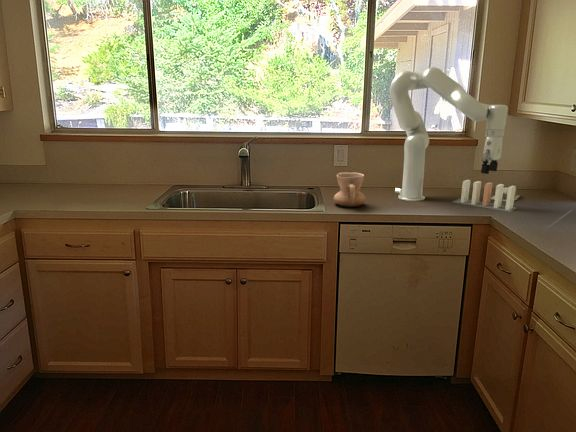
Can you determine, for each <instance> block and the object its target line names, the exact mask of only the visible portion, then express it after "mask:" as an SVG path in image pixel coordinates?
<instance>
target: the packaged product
mask: <svg viewBox="0 0 576 432" xmlns="http://www.w3.org/2000/svg"><path fill="white" fill-rule="evenodd" d="M508 187H509V186H508ZM508 187H507V186H505V187H504V189H503V196H502V201H503V202H506V200H507V193H508ZM517 191H518V190H517V188H516V189H515V196H514V201H517V200H518V199H519V198H520V197H521V195H520V194H517ZM491 200H493V201H494V200H495V195H493V196H491Z"/></svg>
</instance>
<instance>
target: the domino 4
mask: <svg viewBox="0 0 576 432" xmlns="http://www.w3.org/2000/svg"><path fill="white" fill-rule="evenodd" d="M504 186H505V184H504V183H503V184H502V183H499V184H497V185H496V186H495V193H494V194H495V200H493V201H494V202H493V204H494V208H499V207H501V205H503V203H502V196H503V189H504Z"/></svg>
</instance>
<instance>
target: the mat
mask: <svg viewBox="0 0 576 432" xmlns="http://www.w3.org/2000/svg"><path fill="white" fill-rule="evenodd" d="M471 202H472V199H468V201H467V202H464V203H463V202H461V197H460V198H458V199H456V200H453V201H452V203H454V204H455V203H456V204H462V205H467V206H468V205H469V206H474V207H480V208H484V209H485V208H487V209H489V210H490V209H491V210H497V211H504V212H508V213H511V212H513V211H514V210H516V209H518V207H515V206H513V208H512V209H510V210H505V207H506V205H503V204H501V207H499V208H494V203H492V202H490V205H488V206H482V203H483V201H479V203H477V204H471Z"/></svg>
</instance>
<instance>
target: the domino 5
mask: <svg viewBox="0 0 576 432" xmlns="http://www.w3.org/2000/svg"><path fill="white" fill-rule="evenodd" d="M515 189H517V186H516V185H511V186H508V193H507V200H506V201H505V206H506V207H505V210H510V209H512V208H513V207H514V203H515V202H514V201H515V200H514V196H515Z"/></svg>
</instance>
